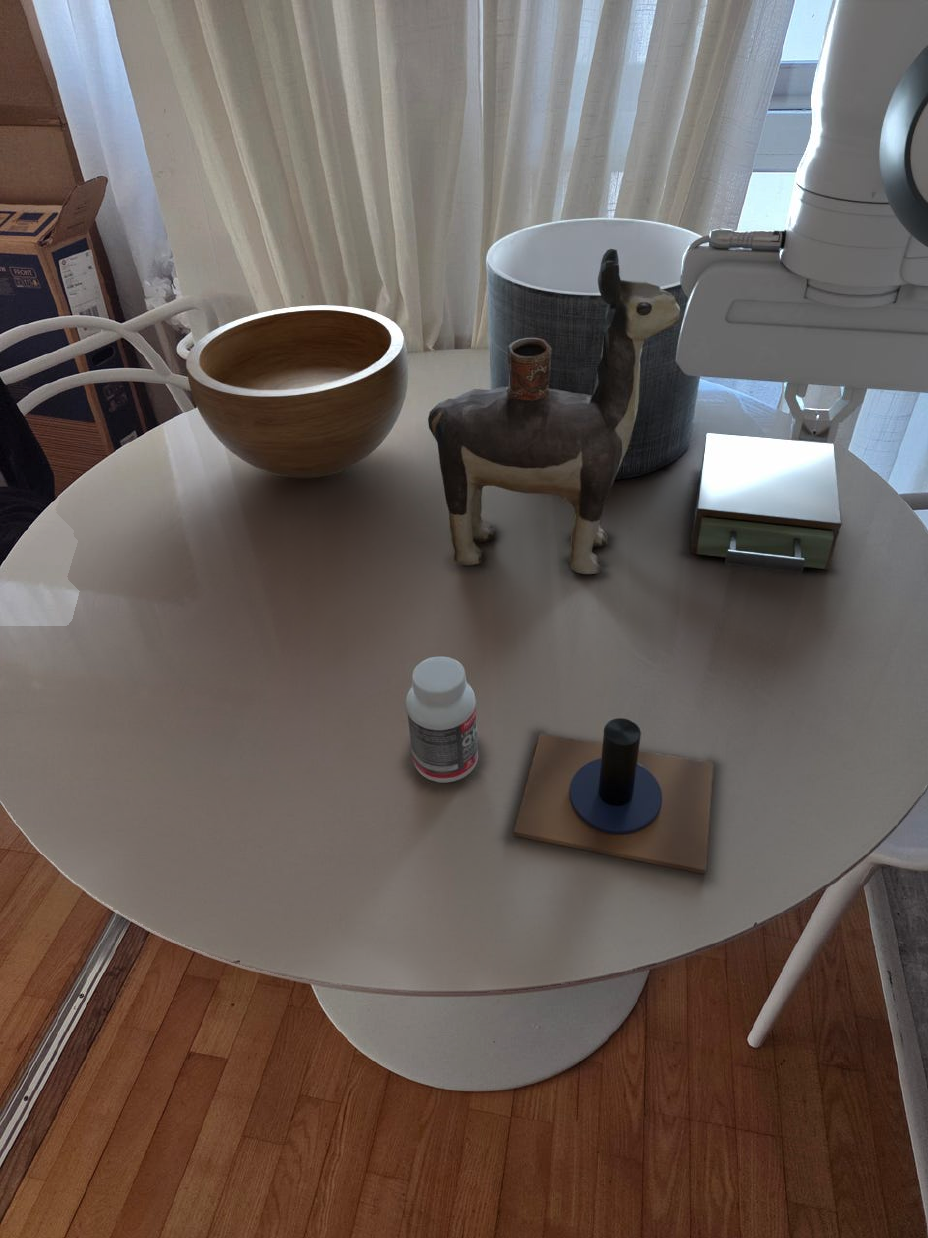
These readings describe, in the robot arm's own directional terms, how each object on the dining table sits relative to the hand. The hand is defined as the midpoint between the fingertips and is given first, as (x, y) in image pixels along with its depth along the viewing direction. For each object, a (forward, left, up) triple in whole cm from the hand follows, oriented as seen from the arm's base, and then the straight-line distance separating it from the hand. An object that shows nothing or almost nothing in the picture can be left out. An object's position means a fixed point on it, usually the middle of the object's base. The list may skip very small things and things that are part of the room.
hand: (811, 437), depth 61 cm
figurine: (+22, -14, -23) cm, 35 cm away
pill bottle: (+24, +16, -23) cm, 37 cm away
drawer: (0, -20, -22) cm, 30 cm away
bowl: (+53, -26, -23) cm, 63 cm away
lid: (+10, +17, -23) cm, 30 cm away
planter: (+21, -40, -23) cm, 51 cm away
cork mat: (+10, +17, -23) cm, 30 cm away
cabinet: (0, -24, -23) cm, 33 cm away
